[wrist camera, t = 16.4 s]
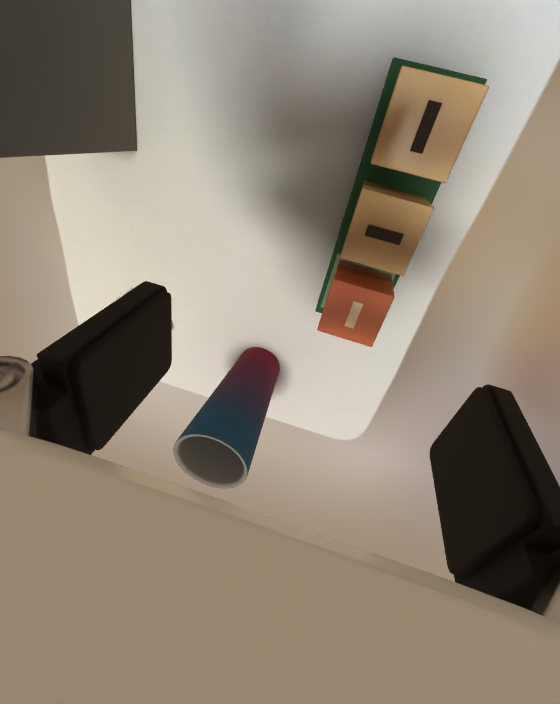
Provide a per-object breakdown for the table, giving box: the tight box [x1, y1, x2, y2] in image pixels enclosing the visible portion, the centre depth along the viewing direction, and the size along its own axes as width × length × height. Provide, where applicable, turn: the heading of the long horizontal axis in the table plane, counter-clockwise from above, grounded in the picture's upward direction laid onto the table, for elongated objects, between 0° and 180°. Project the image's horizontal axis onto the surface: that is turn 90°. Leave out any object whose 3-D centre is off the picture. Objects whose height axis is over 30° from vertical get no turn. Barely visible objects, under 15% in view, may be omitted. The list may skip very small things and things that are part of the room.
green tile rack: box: [316, 58, 489, 313], centre depth 26 cm, size 20×6×6 cm, turn 168°
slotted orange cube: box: [317, 261, 394, 347], centre depth 29 cm, size 5×5×5 cm
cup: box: [173, 348, 279, 489], centre depth 34 cm, size 7×7×15 cm
